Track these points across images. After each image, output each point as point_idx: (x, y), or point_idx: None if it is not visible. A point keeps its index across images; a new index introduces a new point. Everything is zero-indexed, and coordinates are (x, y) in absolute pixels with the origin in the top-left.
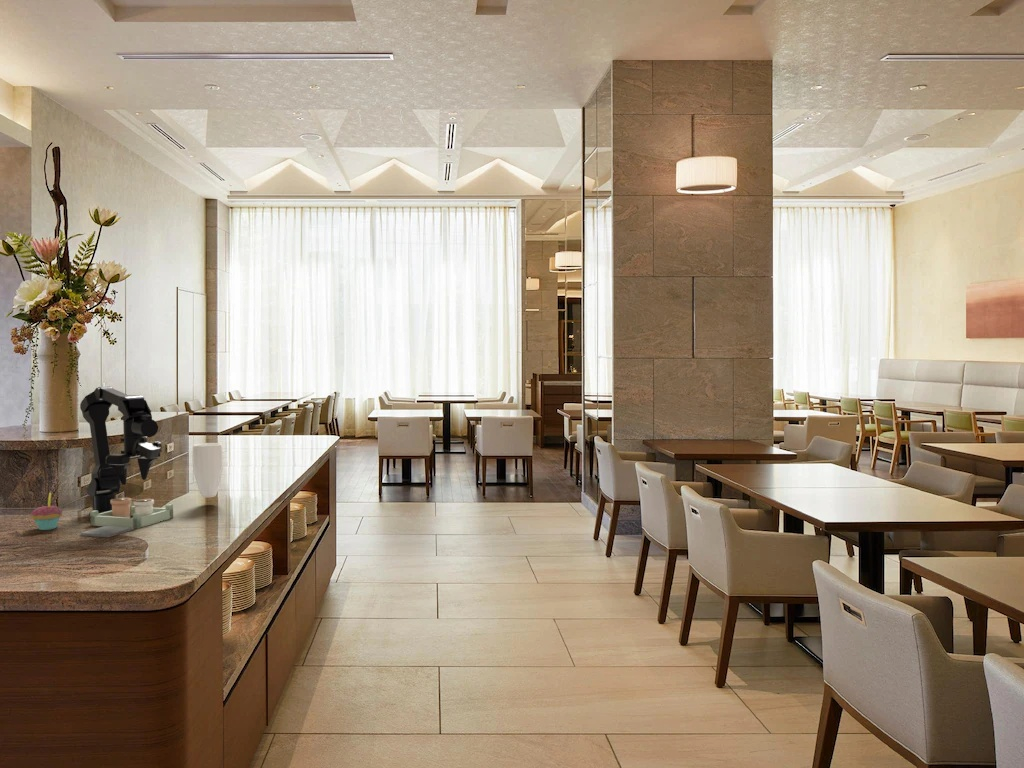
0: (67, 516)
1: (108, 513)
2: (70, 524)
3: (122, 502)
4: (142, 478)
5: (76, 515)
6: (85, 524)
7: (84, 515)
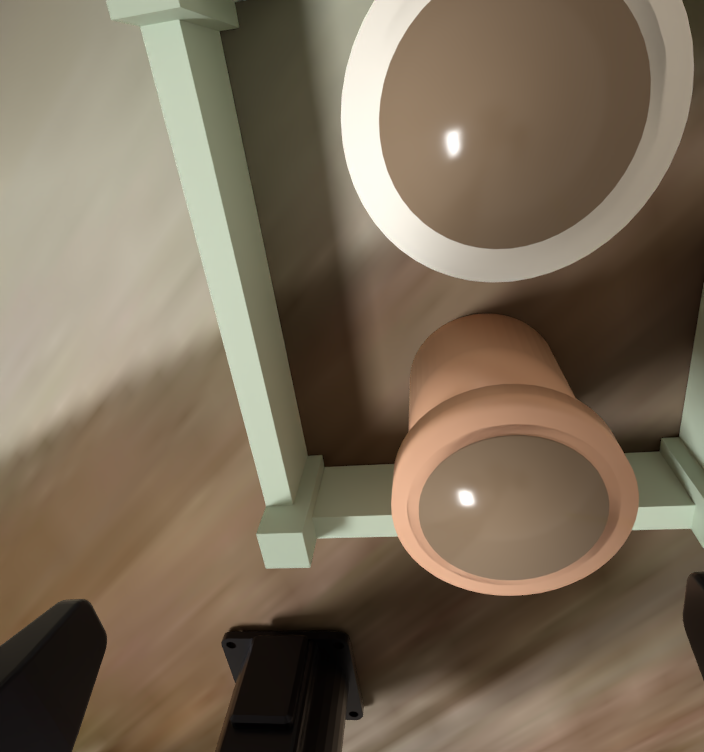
0: (477, 744)
1: None
2: None
3: (589, 414)
4: (96, 659)
5: (437, 725)
6: None
7: (421, 694)
